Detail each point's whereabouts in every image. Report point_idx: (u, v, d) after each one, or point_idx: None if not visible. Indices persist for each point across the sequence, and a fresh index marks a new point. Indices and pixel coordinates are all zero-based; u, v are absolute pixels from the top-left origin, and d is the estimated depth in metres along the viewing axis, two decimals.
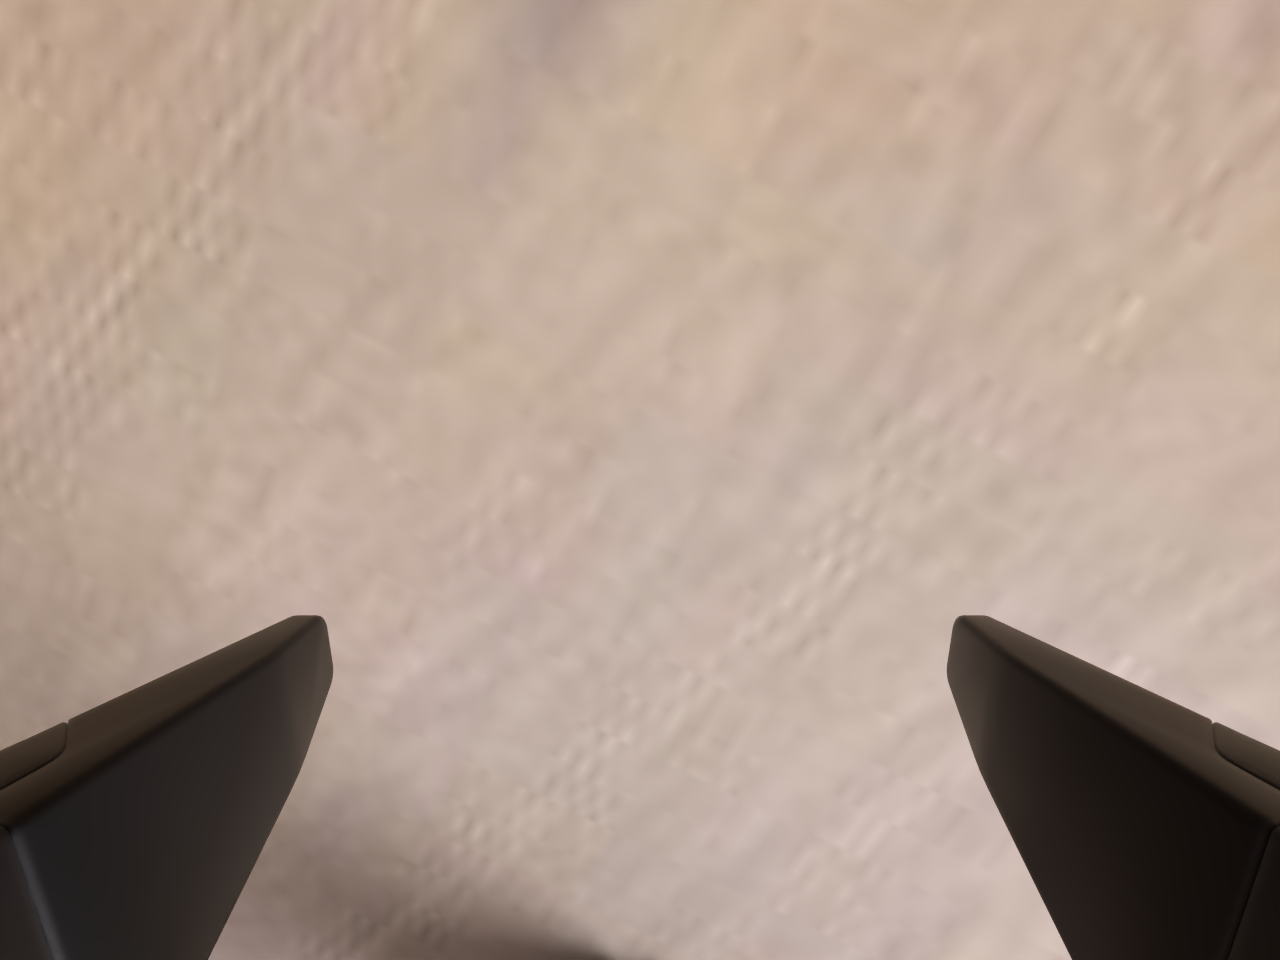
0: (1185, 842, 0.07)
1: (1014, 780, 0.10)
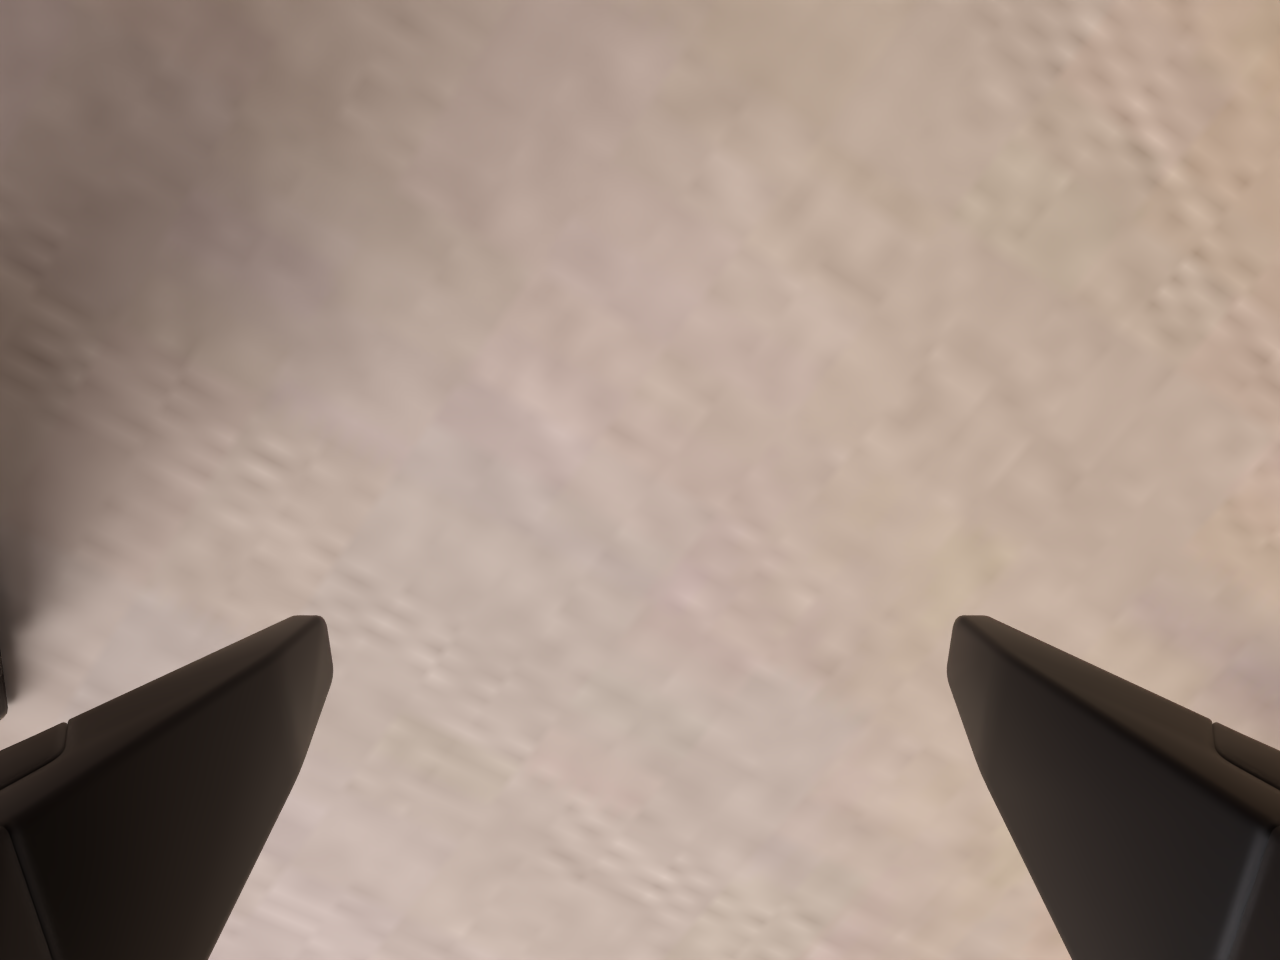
0: (1185, 842, 0.07)
1: (1014, 780, 0.10)
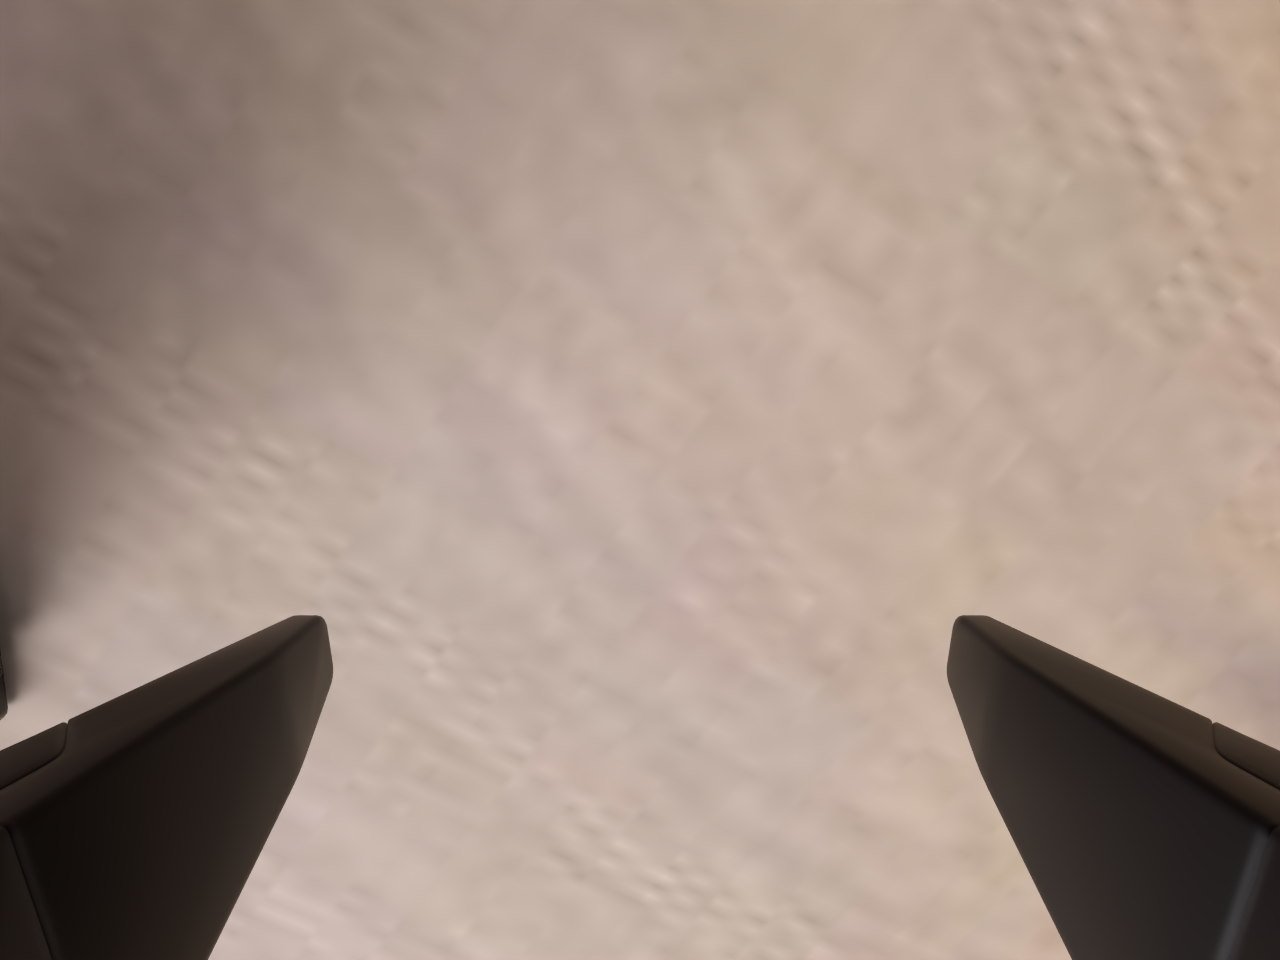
0: (1185, 842, 0.07)
1: (1014, 780, 0.10)
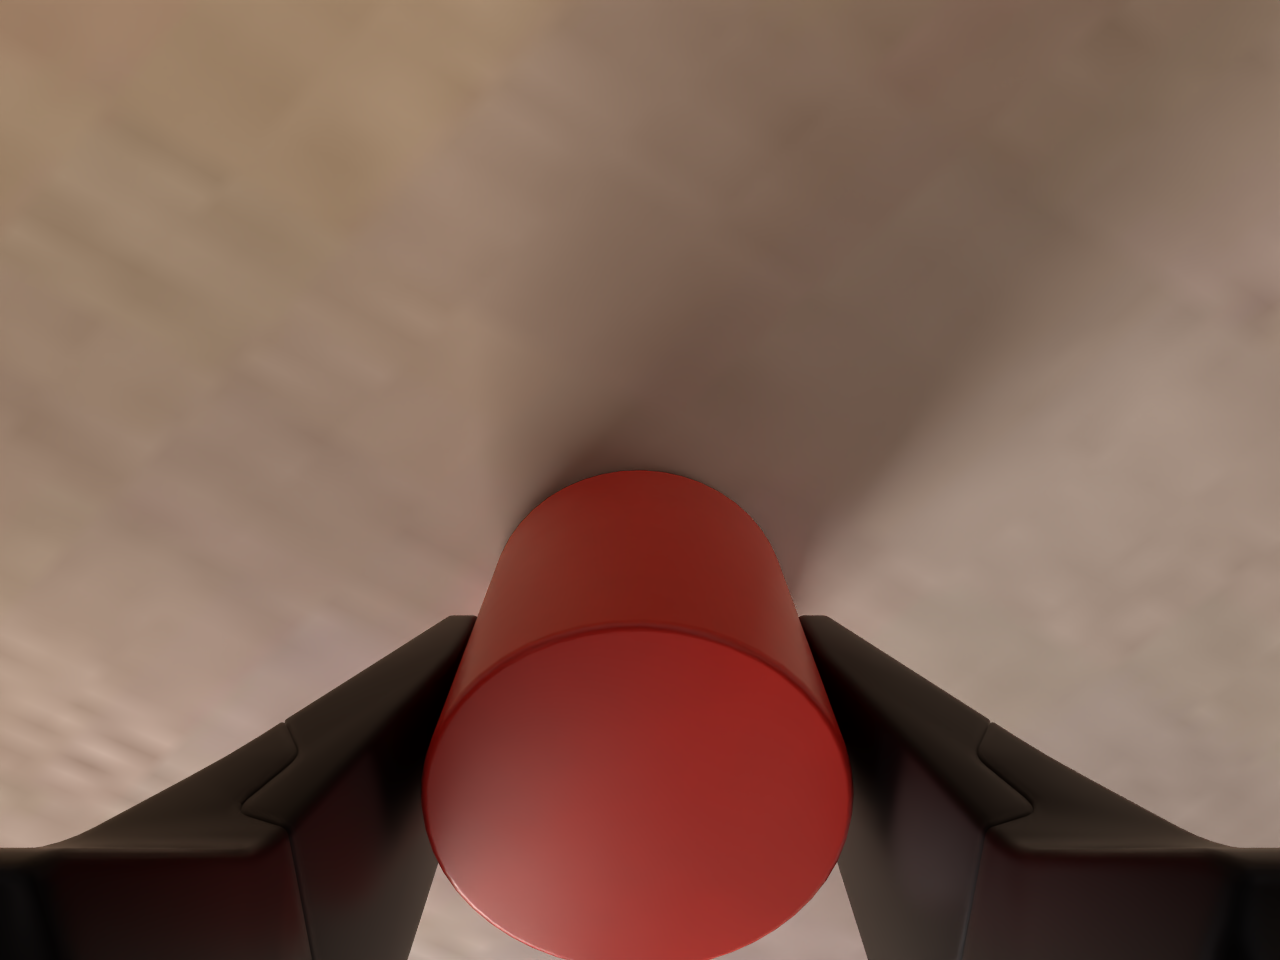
0: (934, 842, 0.07)
1: None
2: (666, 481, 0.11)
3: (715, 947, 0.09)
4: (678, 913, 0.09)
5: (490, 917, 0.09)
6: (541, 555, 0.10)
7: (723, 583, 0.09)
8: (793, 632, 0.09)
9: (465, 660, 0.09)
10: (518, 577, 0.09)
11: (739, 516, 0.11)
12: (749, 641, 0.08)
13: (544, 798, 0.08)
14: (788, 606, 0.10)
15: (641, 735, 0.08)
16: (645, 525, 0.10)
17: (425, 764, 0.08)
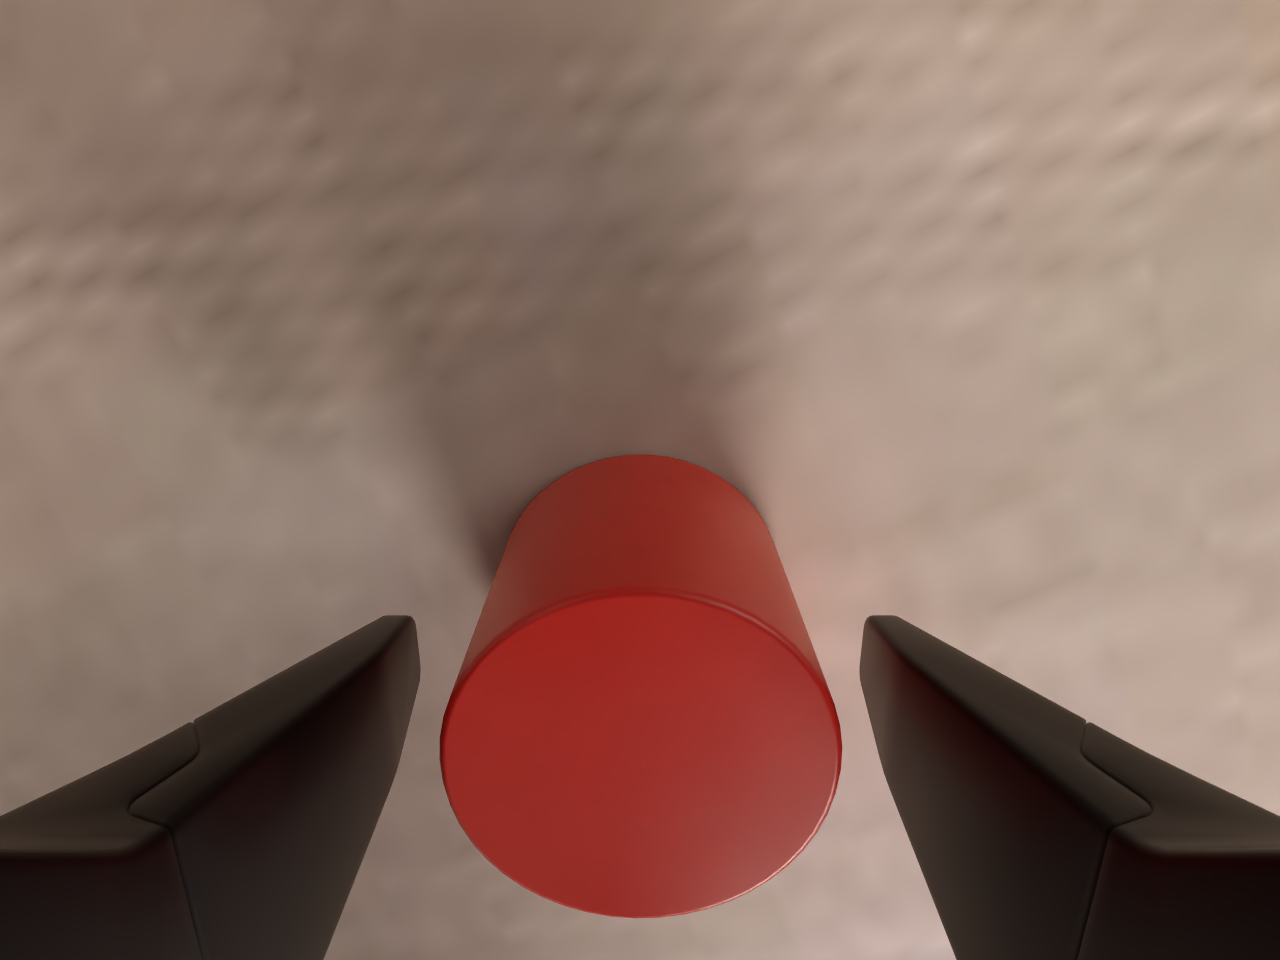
0: (1043, 842, 0.07)
1: (909, 780, 0.10)
2: (667, 464, 0.12)
3: (713, 896, 0.10)
4: (679, 864, 0.09)
5: (503, 867, 0.09)
6: (549, 532, 0.10)
7: (721, 555, 0.09)
8: (786, 602, 0.10)
9: (480, 627, 0.09)
10: (528, 552, 0.10)
11: (736, 498, 0.12)
12: (744, 606, 0.08)
13: (555, 753, 0.09)
14: (782, 580, 0.10)
15: (644, 695, 0.09)
16: (648, 503, 0.10)
17: (444, 722, 0.09)
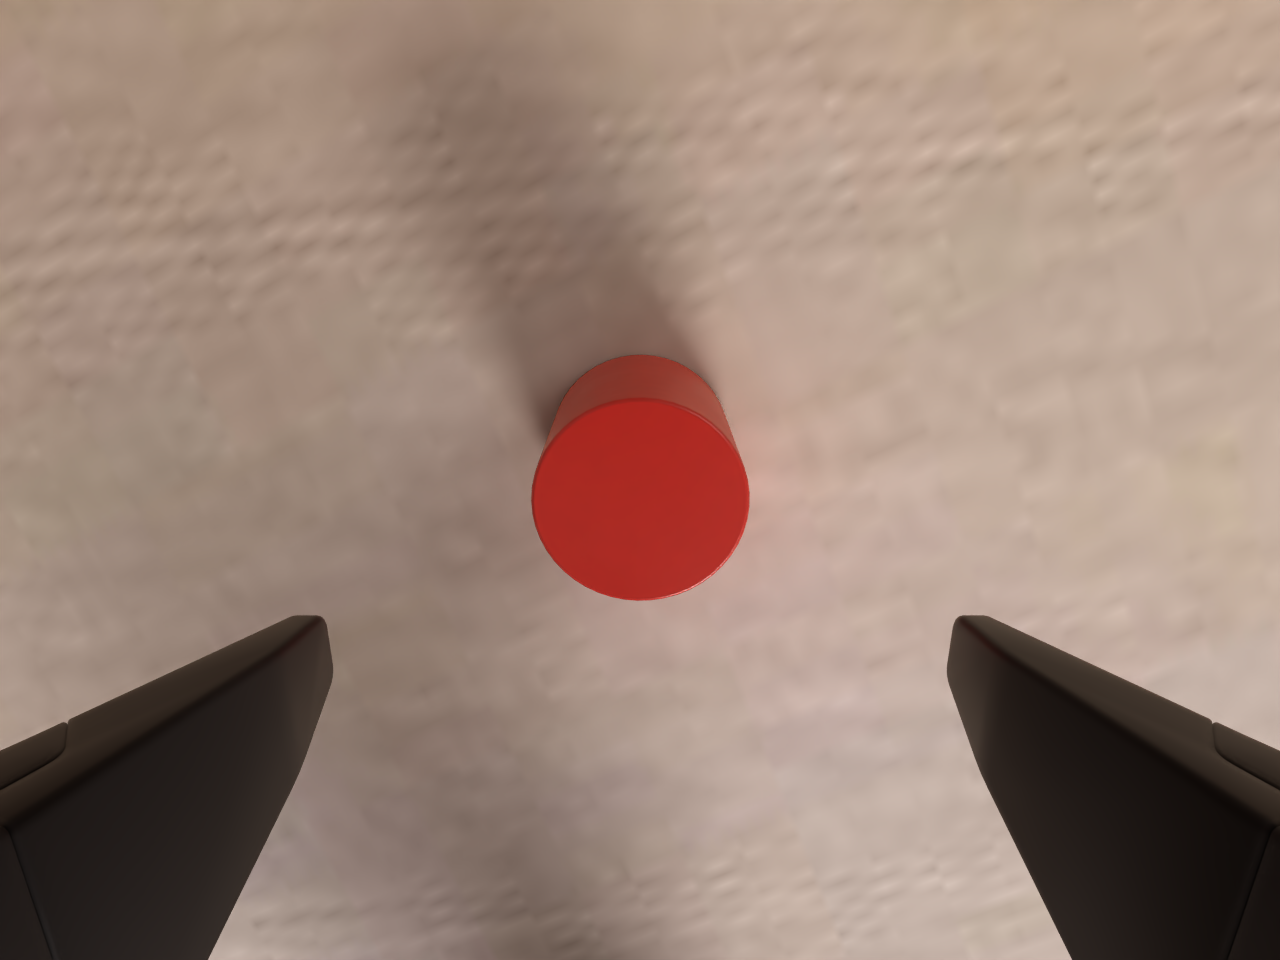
0: (1186, 842, 0.07)
1: (1014, 780, 0.10)
2: (656, 359, 0.19)
3: (681, 585, 0.17)
4: (661, 564, 0.17)
5: (564, 566, 0.17)
6: (588, 388, 0.18)
7: (685, 393, 0.17)
8: (721, 421, 0.17)
9: (551, 433, 0.17)
10: (576, 398, 0.18)
11: (699, 379, 0.19)
12: (695, 410, 0.16)
13: (594, 494, 0.16)
14: (722, 416, 0.18)
15: (642, 460, 0.16)
16: (644, 372, 0.18)
17: (534, 476, 0.16)
